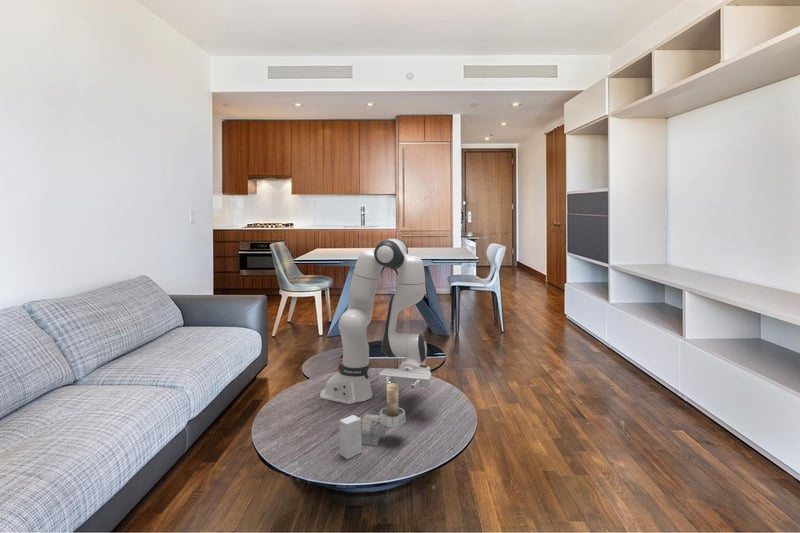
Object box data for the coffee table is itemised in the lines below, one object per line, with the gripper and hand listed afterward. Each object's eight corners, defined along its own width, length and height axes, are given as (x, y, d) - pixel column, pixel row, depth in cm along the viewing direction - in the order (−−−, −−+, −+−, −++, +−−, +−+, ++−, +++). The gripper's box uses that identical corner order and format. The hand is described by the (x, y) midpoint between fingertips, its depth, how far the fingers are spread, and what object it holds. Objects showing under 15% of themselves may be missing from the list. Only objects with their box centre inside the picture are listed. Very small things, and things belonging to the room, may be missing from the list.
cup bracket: (349, 442, 159) (349, 413, 158) (358, 429, 169) (358, 401, 168) (401, 449, 155) (401, 419, 154) (408, 435, 165) (408, 407, 163)
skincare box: (353, 448, 156) (353, 414, 154) (361, 453, 153) (361, 418, 151) (339, 454, 151) (338, 419, 150) (347, 459, 148) (347, 424, 147)
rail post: (385, 420, 158) (385, 386, 157) (388, 415, 162) (388, 382, 161) (396, 421, 158) (396, 388, 156) (399, 416, 161) (399, 383, 160)
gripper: (383, 362, 186) (373, 374, 173) (433, 367, 181) (427, 379, 168) (383, 377, 187) (373, 390, 173) (433, 382, 182) (427, 396, 168)
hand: (400, 385), depth 170 cm, fingers open, 8 cm apart
